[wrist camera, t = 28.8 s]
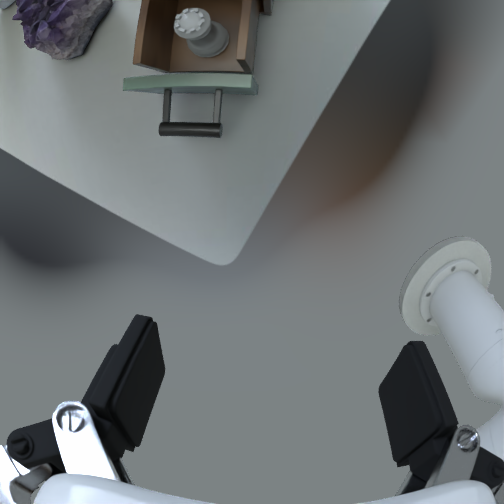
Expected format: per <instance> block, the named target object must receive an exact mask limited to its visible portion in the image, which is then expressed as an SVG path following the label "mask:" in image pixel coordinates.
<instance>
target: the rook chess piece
mask: <svg viewBox="0 0 504 504" xmlns="http://www.w3.org/2000/svg"><path fill="white" fill-rule="evenodd" d="M175 19H176V20H175V22H174V29H175V32H176V33H177V34H178V35H179V36H180V37H183V38H186V39H187V44H188V47H189V49H190V50H191V51H192V52H193V53H194V54H195V55H198V56H200V57H213V56H215V55H218V54H219V53H221V52H222V51H223V50H224V49H225V48H226V46H227V45H228V42H229V34H228V31H227V30H226V29H225V28H224V27H223V26H222V25H221V24H220V23H218V22H215V21H210V20H211V19H210V16H209V14H208V13H207V12H206V11H205V10H203V9H200V8H190V9H188V8H187V9H185V10H183V12H182V13H181V14H178V15H177V16H176V18H175Z"/></svg>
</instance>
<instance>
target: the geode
mask: <svg viewBox="0 0 504 504" xmlns="http://www.w3.org/2000/svg"><path fill="white" fill-rule="evenodd" d="M16 5H17V6H18V8H17V14H16V15H14V16H13V20H21V21H23V22H22V23H21V25H22V26H23V31H24V39H25V41H24V43H25V44H26V45H27V46H28V47H29V48H34V47H36V49H37V50H40V51H42V52H44V53H47V54H49V55H51V56H52V59H53V58H55V59H65V60H68V59H71V58H73V57H76V56H80V55H82V54H83V52H84V49H85V47H86V46H87V44H88V42H89V40H90V38H91V35H92V34H93V31H94V28H95V27H96V26H97V25H98V24H99V22H100V20H101V19H102V18H103V17H104V16H105V15H106V13H107V12H108V11H109V9H110V7H111V6H112V0H16Z"/></svg>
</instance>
